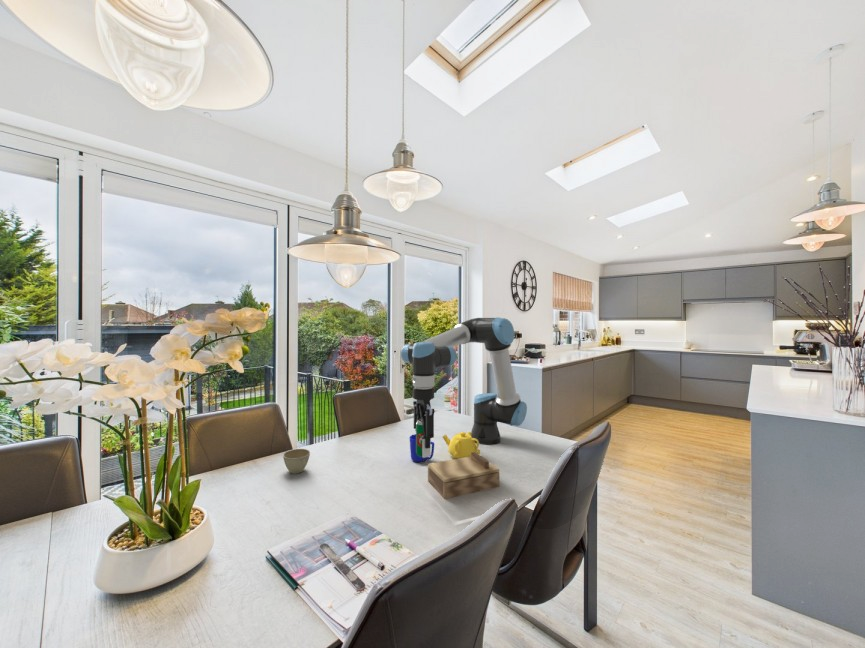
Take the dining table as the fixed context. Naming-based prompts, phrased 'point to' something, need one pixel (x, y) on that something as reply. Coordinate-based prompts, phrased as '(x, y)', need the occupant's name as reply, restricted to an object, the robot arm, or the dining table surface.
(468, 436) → the teapot
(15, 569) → the dining table surface
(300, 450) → the flower pot
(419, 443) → the soda can
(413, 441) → the mug
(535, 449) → the dining table surface
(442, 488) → the open wooden box
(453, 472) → the lid
